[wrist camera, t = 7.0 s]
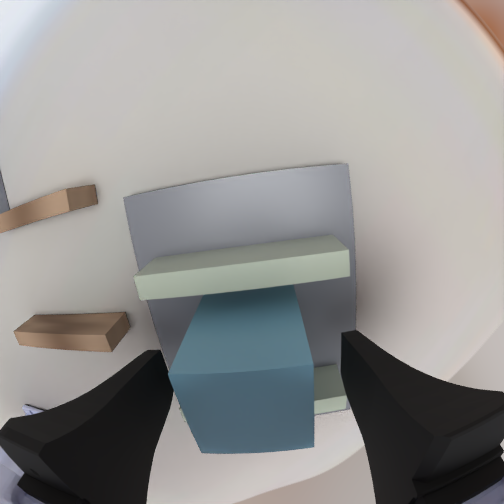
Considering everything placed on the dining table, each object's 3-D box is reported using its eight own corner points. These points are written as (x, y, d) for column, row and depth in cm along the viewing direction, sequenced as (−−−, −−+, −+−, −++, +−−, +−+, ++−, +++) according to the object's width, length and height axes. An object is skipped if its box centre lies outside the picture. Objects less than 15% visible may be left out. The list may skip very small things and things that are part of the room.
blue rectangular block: (220, 361, 14) (201, 453, 8) (205, 291, 13) (167, 374, 7) (298, 353, 14) (314, 447, 8) (292, 281, 13) (313, 364, 7)
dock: (193, 414, 16) (183, 452, 13) (130, 195, 13) (94, 204, 10) (347, 400, 16) (359, 438, 13) (343, 163, 12) (368, 161, 9)
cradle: (39, 327, 15) (19, 345, 13) (6, 215, 13) (-20, 222, 11) (130, 327, 15) (111, 351, 12) (94, 184, 13) (65, 188, 10)
